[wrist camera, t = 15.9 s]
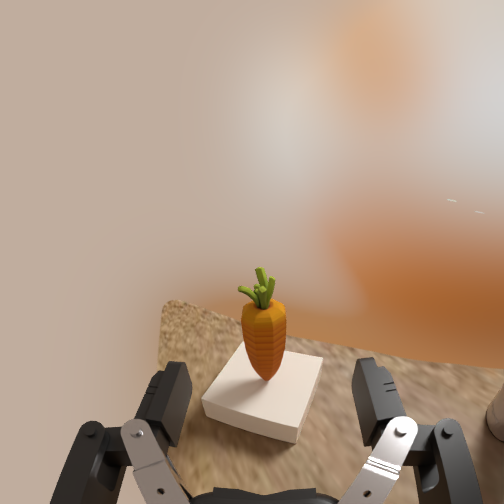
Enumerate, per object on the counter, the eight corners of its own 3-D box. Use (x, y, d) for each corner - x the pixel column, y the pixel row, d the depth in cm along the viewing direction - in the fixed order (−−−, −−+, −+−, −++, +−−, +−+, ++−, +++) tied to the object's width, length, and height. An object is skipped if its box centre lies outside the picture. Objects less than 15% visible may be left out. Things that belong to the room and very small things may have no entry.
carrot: (278, 398, 30) (276, 288, 24) (240, 387, 32) (226, 280, 26) (292, 371, 34) (294, 265, 28) (257, 362, 36) (249, 260, 30)
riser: (320, 377, 37) (323, 357, 36) (295, 443, 27) (298, 427, 26) (244, 360, 42) (242, 341, 40) (206, 416, 32) (200, 398, 30)
